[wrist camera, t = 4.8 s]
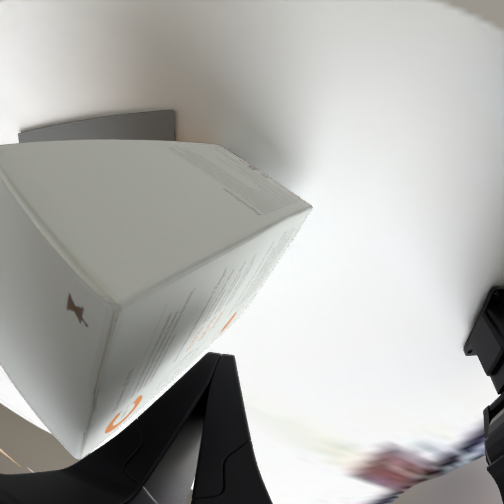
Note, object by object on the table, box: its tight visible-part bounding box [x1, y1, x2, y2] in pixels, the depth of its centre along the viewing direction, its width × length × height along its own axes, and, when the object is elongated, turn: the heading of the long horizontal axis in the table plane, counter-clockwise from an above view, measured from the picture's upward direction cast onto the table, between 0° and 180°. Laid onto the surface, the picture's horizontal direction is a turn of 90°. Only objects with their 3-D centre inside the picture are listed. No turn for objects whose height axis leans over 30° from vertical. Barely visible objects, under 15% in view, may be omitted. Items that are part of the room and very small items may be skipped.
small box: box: [0, 139, 312, 459], centre depth 12 cm, size 8×6×13 cm
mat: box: [18, 110, 175, 143], centre depth 20 cm, size 13×14×1 cm
